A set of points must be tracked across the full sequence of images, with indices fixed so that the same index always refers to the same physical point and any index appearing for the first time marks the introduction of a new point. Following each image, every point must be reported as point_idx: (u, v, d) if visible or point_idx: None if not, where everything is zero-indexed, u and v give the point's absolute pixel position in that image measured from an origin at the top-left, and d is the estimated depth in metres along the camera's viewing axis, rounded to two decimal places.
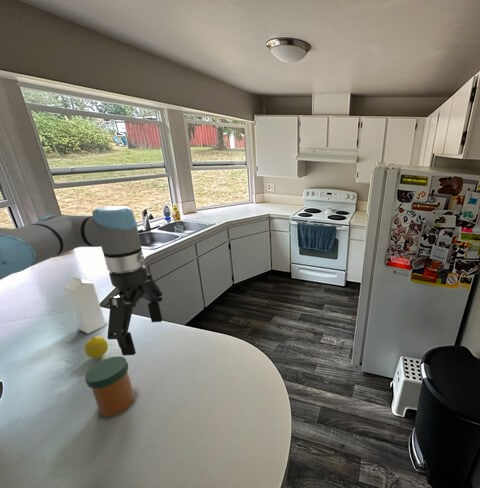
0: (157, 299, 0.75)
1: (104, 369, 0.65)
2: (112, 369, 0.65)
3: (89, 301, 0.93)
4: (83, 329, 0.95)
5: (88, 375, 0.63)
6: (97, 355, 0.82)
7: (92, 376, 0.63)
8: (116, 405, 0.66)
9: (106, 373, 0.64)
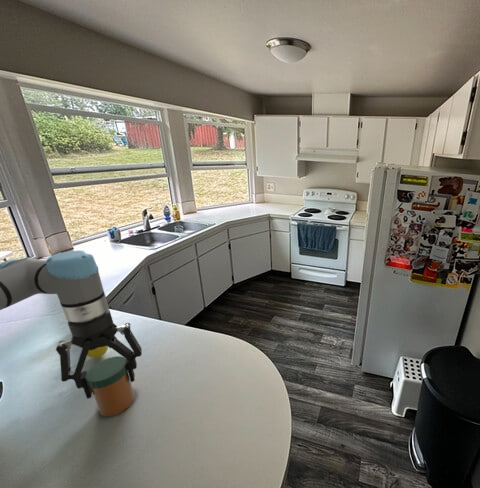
0: (128, 358, 0.66)
1: (104, 369, 0.65)
2: (112, 369, 0.65)
3: None
4: None
5: (88, 375, 0.63)
6: (97, 355, 0.82)
7: (92, 376, 0.63)
8: (116, 405, 0.66)
9: (106, 373, 0.64)
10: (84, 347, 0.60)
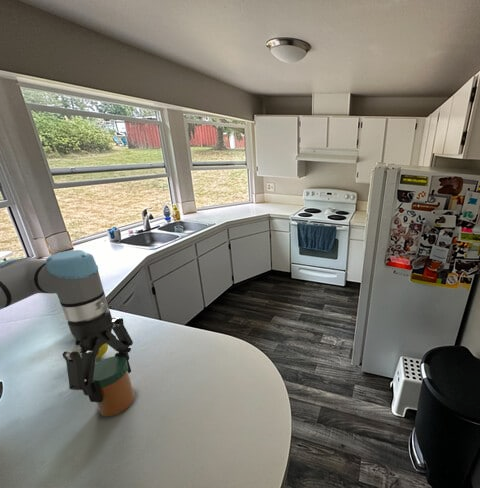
0: (125, 349, 0.69)
1: (106, 369, 0.65)
2: (115, 364, 0.66)
3: None
4: None
5: (96, 378, 0.62)
6: (97, 355, 0.82)
7: (102, 376, 0.63)
8: (116, 405, 0.66)
9: (114, 367, 0.65)
10: (95, 346, 0.60)
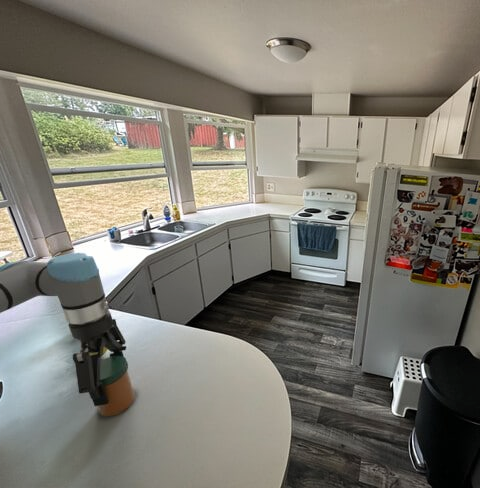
0: (121, 348, 0.70)
1: (107, 368, 0.65)
2: (113, 362, 0.67)
3: None
4: None
5: (107, 375, 0.63)
6: None
7: (112, 371, 0.64)
8: (116, 405, 0.66)
9: (116, 363, 0.66)
10: (101, 346, 0.61)
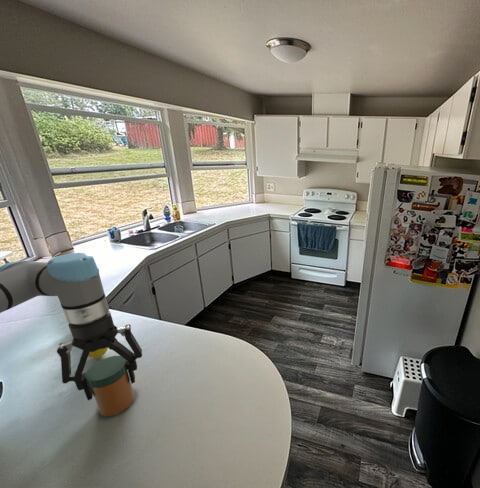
0: (129, 360, 0.67)
1: (107, 368, 0.65)
2: (113, 362, 0.67)
3: None
4: None
5: (107, 375, 0.63)
6: (97, 355, 0.82)
7: (112, 371, 0.64)
8: (116, 405, 0.66)
9: (116, 363, 0.66)
10: (85, 349, 0.60)
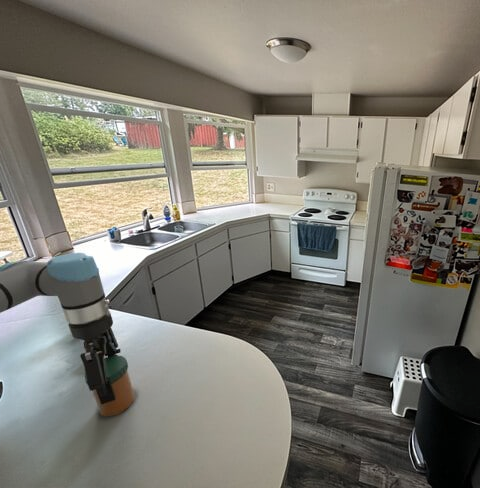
0: (115, 351, 0.69)
1: (108, 366, 0.65)
2: None
3: None
4: None
5: (122, 362, 0.67)
6: None
7: (119, 360, 0.67)
8: (116, 405, 0.66)
9: (107, 361, 0.67)
10: (104, 344, 0.61)
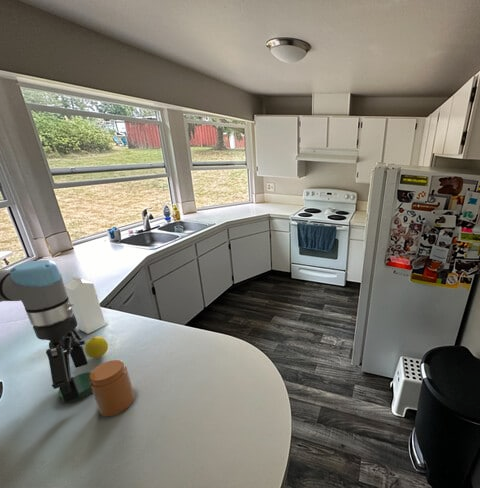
0: (80, 343, 0.75)
1: (80, 382, 0.72)
2: None
3: (89, 301, 0.93)
4: (83, 329, 0.95)
5: None
6: (97, 355, 0.82)
7: None
8: (116, 405, 0.66)
9: (79, 378, 0.73)
10: (69, 344, 0.66)
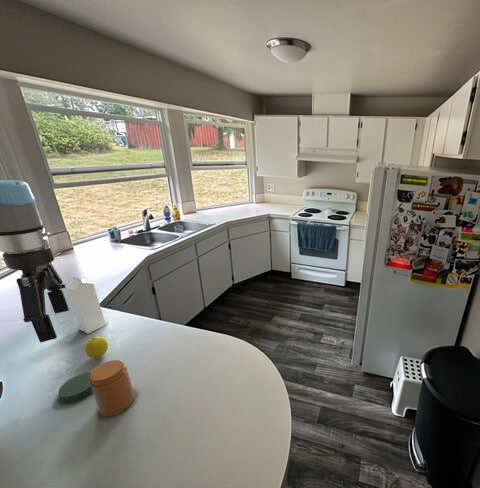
0: (60, 286, 0.69)
1: (80, 382, 0.72)
2: (73, 382, 0.72)
3: (89, 301, 0.93)
4: (83, 329, 0.95)
5: None
6: (97, 355, 0.82)
7: None
8: (116, 405, 0.66)
9: (79, 378, 0.73)
10: (45, 278, 0.60)
